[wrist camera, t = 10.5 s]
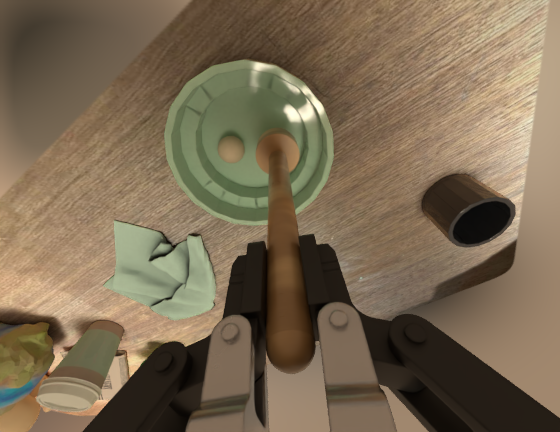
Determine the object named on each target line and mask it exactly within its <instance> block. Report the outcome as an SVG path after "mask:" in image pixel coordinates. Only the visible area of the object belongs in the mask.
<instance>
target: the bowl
mask: <svg viewBox="0 0 560 432" xmlns="http://www.w3.org/2000/svg"><path fill="white" fill-rule="evenodd" d="M271 128H283V129H286V130H288V131H289V132H290V133H292V134H293V136H294V137H295V139H296V141H297V144H298V148H299V152H300V157H299V161H298V164H297V166H296V167H295V168H294V169H293V170H292V171H291V172H290V173H289V175H290V181H291V187H292V194H293V200H294V207H295V213H296V214H298V213H299V212H300V211H302V210H303V209H304V208H305V207H306V206H308V205H309V204H310V203H311V202H313V201H314V200H315V198H316V197H317V195H318V194H319V192H320V191H321V189H322V188H323V186H324V185H325V183H326V182H327V179H328V176H329V173H330V169H331V166H332V162H333V159H334V146H333V130H332V128H331V125H330V122H329V120H328V117H327V114H326V112H325V109H324V106H323V105H322V103H321V102H320V101H319V100H318V99H317V97H316V96H315V95H314V94H313V92H312V91H311V90H310V89H309V88H308V86H307V85H306V84H305V83H304V82H303V81H302V80H301V79H300V78H299V77H297V76H296V75H294V74H293V73H291V72H289V71H288V70H286V69H284V68H283V67H281V66H279V65H278V64H276V63H273V62H267V61H262V60H256V59H251V58H247V59H242V60H237V61H232V62H227V63H222V64H217V65H213V66H211V67H209V68H208V69H206V70H205V71H203V72H202V73H200V74H199V75H197V76H196V77H194V78H193V79H191V80H190V81H188V82H187V83H186V84H185V86H184V87H183V89H182V90H181V91H180V93H179V94H178V96H177V97H176V99H175V100H174V102H173V103H172V105H171V107H170V110H169V114H168V118H167V122H166V127H165V131H164V139H165V148H166V157H167V162H168V164H169V166H170V168H171V170H172V173H173V175H174V177H175V179H176V182H177V183H178V185H179V186H180V187H181V189H182V190H183V191H184V192H185V193H186V194H187V196H188V197H189V198H190V199H191V200H192V202H194V203H195V204H196V205H198V206H199V207H201V208H202V209H204V210H205V211H207V212H208V213H209V214H211V215H213V216H215V217H218V218H220V219H223V220H226V221H228V222H231V223H234V224H243V225H252V226H259V225H265V224H268V178H269V174H267V173H265V172H264V171H263V170H262V169H261V168H260V167H259V165H258V163H257V161H256V147H257V142H258V140H259V138H260V136H261V135H262V134H263V133H264V132H265V131H267V130H269V129H271ZM226 136H235V137H237V138H239V139H240V140H241V141H242V143H243V145H244V148H245V152H244V156H243V158H242V159H241V160H240V161H238V162H236V163H227V162H225V161H224V160H222V159H221V157H220V156H219V154H218V144H219V142H220V140H221V139H223V138H224V137H226Z"/></svg>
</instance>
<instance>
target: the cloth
mask: <svg viewBox="0 0 560 432" xmlns="http://www.w3.org/2000/svg"><path fill="white" fill-rule="evenodd" d="M114 233H115V250H116V269H115V274H114V276H112V277H111V278H110V279H109V280H108V281H107V282H106V283H105V284H104V285H103V286H104V287H106V288H108V289H110V290H113V291H115V292H117V293H119V294H121V295H123V296H126V297H128V298H130V299H132V300H135V301H137V302H139V303H142V304H144V305H146V306H149V307H150V309H152V310H153V311H154V312H156V313H157V314H160V315H162V316H168V319H170V320H180V319H186V318H189V317H192V316H196V315H200V314H202V313H204V312H206V311H209V310H212V308H213V307H214V306H215V304H214V303H213V301H214V298H215V294H216V282H215V275H214V273H213V267H212V263H211V262H210V260H209V257H208V253H207V251H206V249H205V247H204V246H203V243H202V239H201V235H200V236H196V237H193V236H190V235H188V238H187V240H186V241H183V242H181V243H179V244H178V245H177V246H176V247H175V249H174V248H173V247H172V246H171V244H170V243H168V242H167V241H166V238H165V237H164V236H163V235H162V233H160V232H158V231H155V230H152V229H148V228H144V227H140V226H136V225H133V224H129V223H124V222H120V221H116V220H114Z"/></svg>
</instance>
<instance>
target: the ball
mask: <svg viewBox="0 0 560 432" xmlns="http://www.w3.org/2000/svg"><path fill="white" fill-rule="evenodd" d="M244 152H245V148H244V145H243V143H242V141H241V140H240V139H239V138H237V137H235V136H226V137H224V138H223V139H221V140H220V142H219V144H218V154H219V156H220V157H221V159H222V160H224V161H225V162H227V163H236V162H238V161H240V160H241V159H242V158H243V156H244Z"/></svg>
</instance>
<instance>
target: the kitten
mask: <svg viewBox="0 0 560 432" xmlns="http://www.w3.org/2000/svg"><path fill="white" fill-rule="evenodd" d="M47 378H48V376H46V375H44V377H43V378H42V379H41V381H40V382H39V383H38V384H37V386H36V387H35V388H34V389H33V390H32V392H31V393H30V394H28V395H27V396H26V397H25V398H24V399H22V400H21V401H19V402H17V403H16V404H15V406H14V407H13V408H12V409H11V410H10V411H8V412H6V413H4V414H3V415H2V416H0V432H28V431H29V430H30V428H31V427H32V426H33V424H34V423H35V421H36V420H37V418H38V416H39V413H40V404H39V403H38V402H37V401H36V398H35V397H36V396H37V395H38V392H39V387H40V386H41V384H42V382H43V381H44V380H45V379H47ZM43 410H44V412H48V411H50V410H51V409H50V408H47V407H44V406H43Z"/></svg>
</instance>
